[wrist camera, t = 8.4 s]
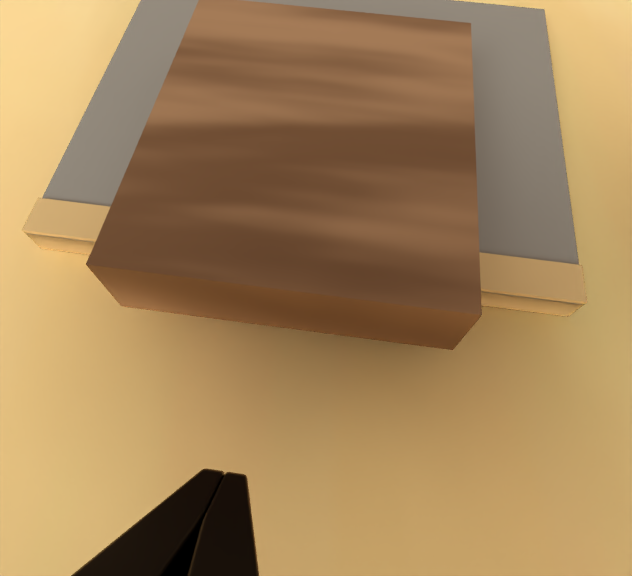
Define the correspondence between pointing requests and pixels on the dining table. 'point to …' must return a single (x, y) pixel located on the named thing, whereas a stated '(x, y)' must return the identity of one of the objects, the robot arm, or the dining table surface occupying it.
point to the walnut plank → (306, 177)
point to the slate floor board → (490, 139)
